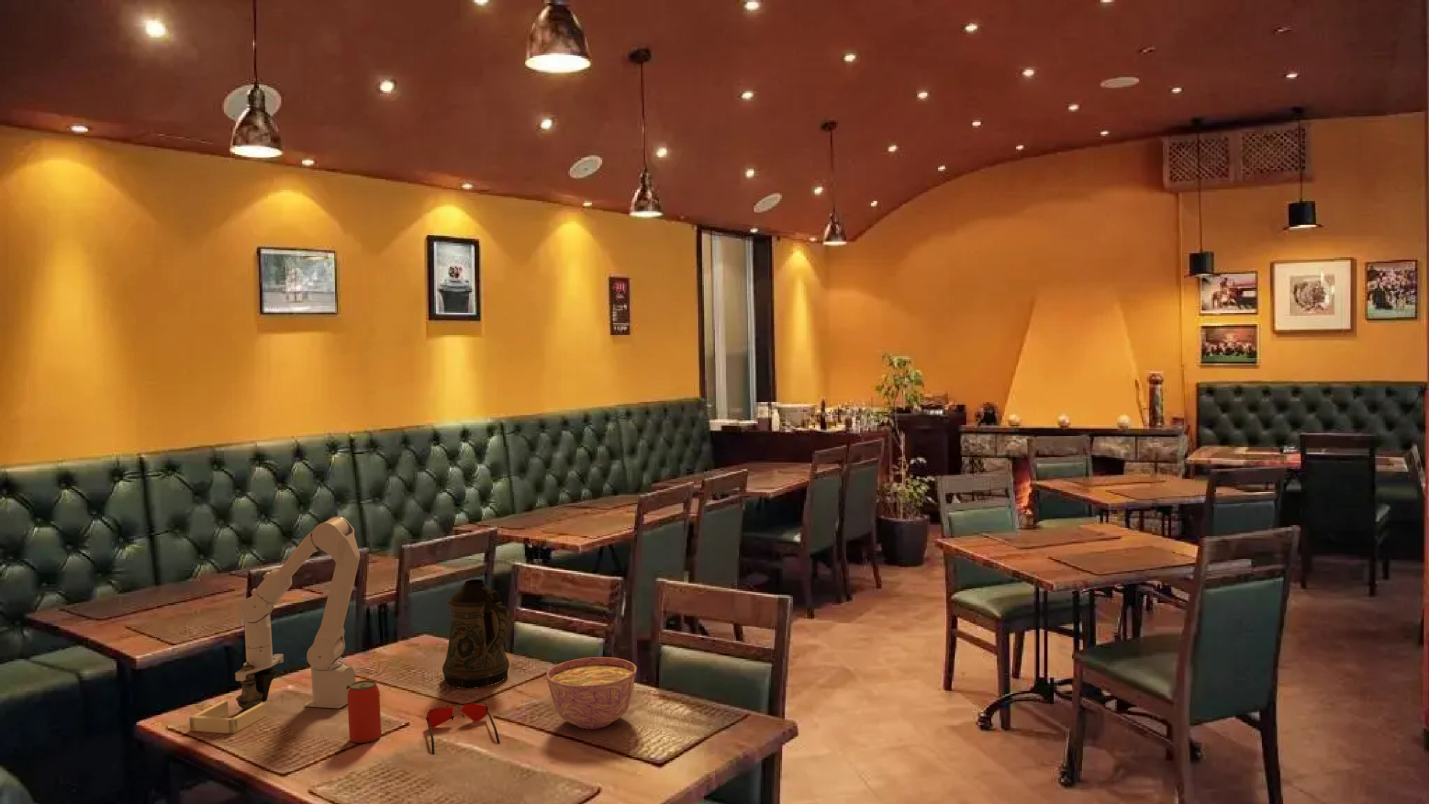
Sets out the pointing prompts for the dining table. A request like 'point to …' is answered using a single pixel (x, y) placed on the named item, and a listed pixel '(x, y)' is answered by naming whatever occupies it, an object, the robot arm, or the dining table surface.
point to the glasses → (445, 714)
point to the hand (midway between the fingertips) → (262, 701)
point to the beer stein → (476, 637)
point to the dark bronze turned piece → (249, 691)
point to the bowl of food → (592, 690)
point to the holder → (215, 722)
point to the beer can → (364, 711)
